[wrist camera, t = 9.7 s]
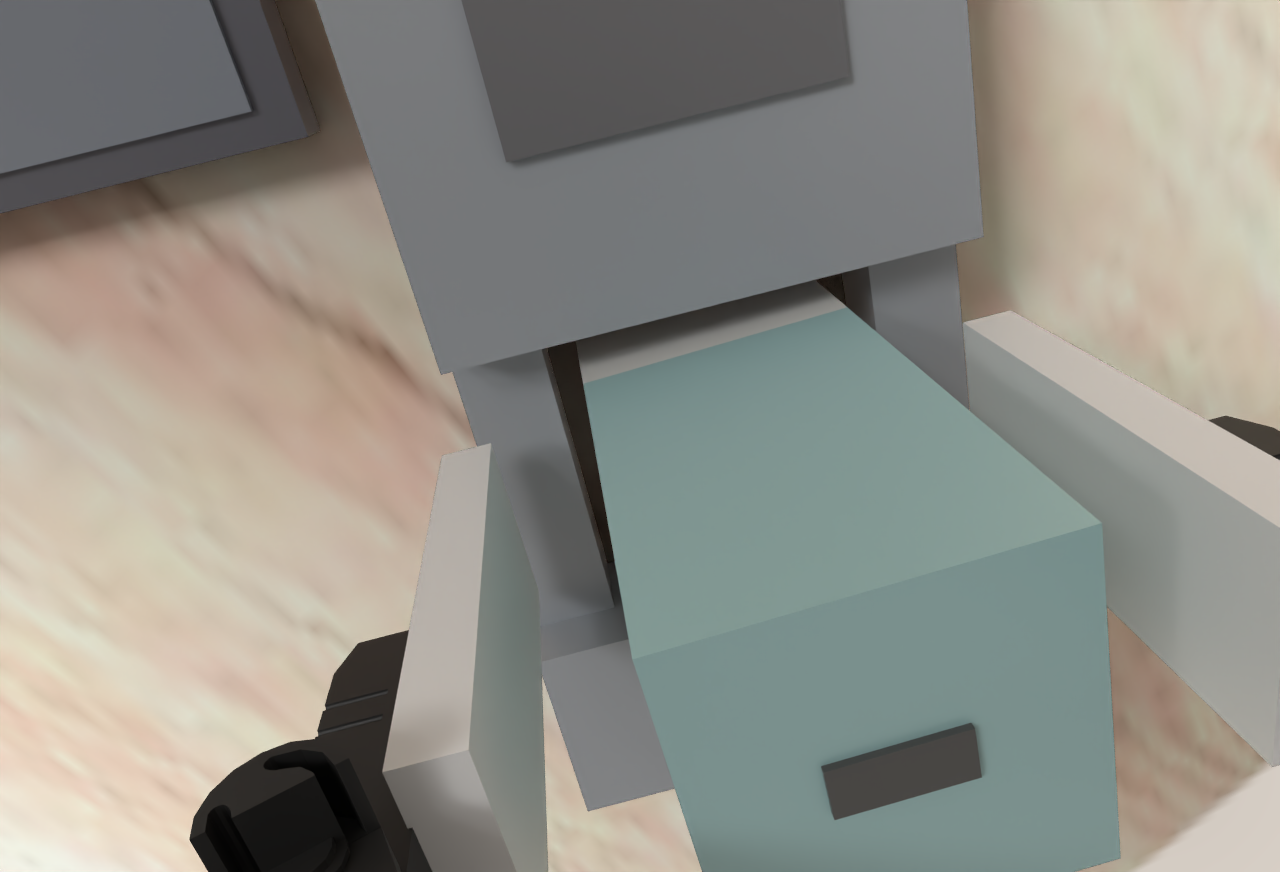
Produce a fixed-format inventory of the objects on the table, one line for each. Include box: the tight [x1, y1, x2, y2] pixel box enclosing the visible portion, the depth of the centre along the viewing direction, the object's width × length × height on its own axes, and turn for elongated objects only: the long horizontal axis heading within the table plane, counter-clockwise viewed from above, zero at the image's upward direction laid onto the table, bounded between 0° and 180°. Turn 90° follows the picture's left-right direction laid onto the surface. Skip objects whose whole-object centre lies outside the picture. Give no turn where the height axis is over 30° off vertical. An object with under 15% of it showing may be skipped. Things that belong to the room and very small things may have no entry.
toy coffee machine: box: [315, 0, 984, 811], centre depth 14 cm, size 18×8×3 cm, turn 13°
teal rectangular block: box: [576, 280, 1120, 872], centre depth 12 cm, size 4×4×9 cm
